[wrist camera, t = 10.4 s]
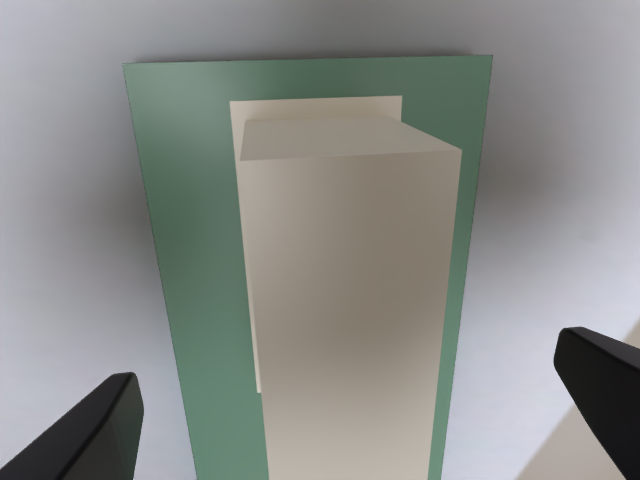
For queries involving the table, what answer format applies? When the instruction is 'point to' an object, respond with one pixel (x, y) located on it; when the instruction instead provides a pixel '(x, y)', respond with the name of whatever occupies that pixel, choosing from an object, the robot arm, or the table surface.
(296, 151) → the block
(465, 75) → the board
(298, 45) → the table surface
